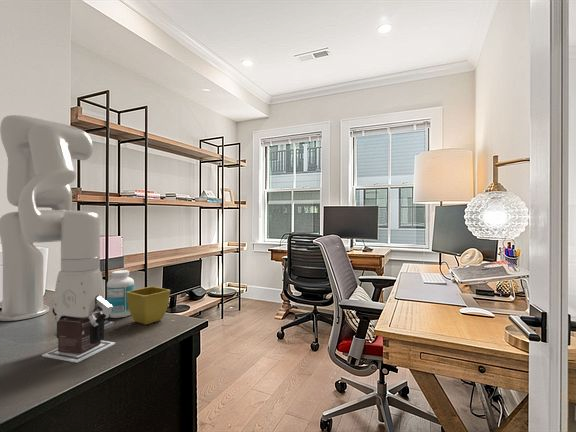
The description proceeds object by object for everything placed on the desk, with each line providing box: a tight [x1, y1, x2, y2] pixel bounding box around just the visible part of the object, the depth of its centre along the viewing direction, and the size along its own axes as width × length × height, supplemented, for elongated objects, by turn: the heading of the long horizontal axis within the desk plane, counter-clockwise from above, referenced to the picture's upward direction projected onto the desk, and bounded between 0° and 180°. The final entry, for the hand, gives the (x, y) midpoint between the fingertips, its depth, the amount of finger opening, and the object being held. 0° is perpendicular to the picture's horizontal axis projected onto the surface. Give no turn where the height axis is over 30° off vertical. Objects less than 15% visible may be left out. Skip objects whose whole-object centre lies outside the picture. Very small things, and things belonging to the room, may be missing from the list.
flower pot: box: [126, 285, 171, 325], centre depth 91 cm, size 9×9×9 cm
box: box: [57, 315, 101, 354], centre depth 72 cm, size 6×6×7 cm
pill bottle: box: [106, 269, 135, 319], centre depth 96 cm, size 8×7×14 cm
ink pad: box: [104, 320, 115, 331], centre depth 84 cm, size 9×9×1 cm
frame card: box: [41, 340, 116, 363], centre depth 72 cm, size 10×10×1 cm
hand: (80, 339), depth 72 cm, fingers open, 9 cm apart
